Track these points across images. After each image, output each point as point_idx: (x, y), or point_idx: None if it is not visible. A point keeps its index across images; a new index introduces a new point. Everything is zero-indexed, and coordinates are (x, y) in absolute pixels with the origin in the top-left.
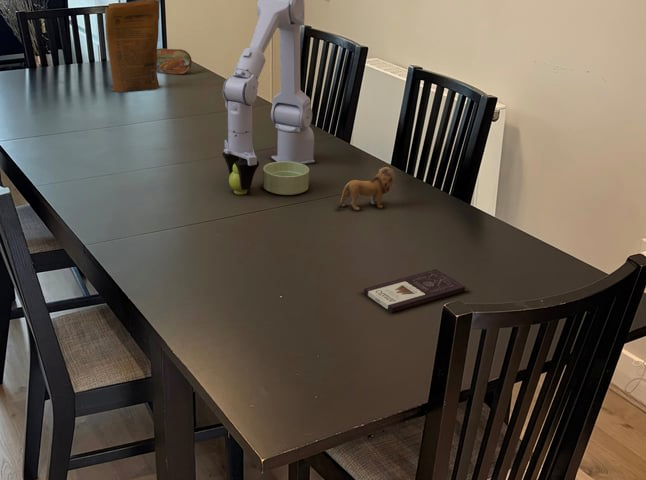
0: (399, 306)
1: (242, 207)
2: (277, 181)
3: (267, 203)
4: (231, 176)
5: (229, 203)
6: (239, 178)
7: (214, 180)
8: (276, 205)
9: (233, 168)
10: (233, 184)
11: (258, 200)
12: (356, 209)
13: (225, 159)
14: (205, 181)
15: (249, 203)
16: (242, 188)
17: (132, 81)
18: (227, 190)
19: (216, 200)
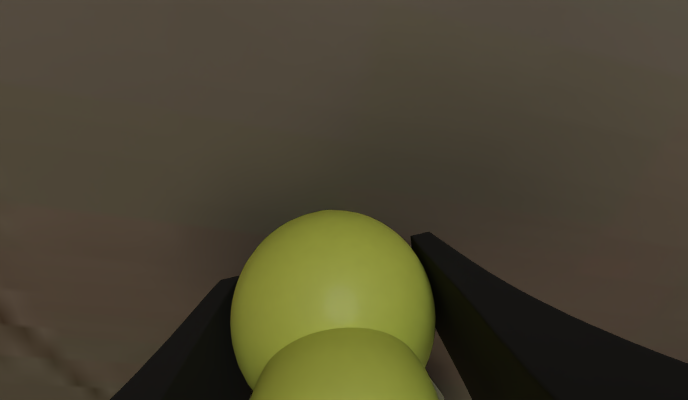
0: None
1: (30, 220)
2: None
3: (136, 347)
4: (310, 277)
5: (101, 142)
6: (236, 337)
7: (600, 114)
8: (110, 377)
9: (320, 386)
10: (265, 244)
11: (182, 315)
12: None
13: (649, 377)
14: (623, 34)
15: (123, 268)
16: (213, 289)
17: None
18: (380, 172)
19: (164, 40)
